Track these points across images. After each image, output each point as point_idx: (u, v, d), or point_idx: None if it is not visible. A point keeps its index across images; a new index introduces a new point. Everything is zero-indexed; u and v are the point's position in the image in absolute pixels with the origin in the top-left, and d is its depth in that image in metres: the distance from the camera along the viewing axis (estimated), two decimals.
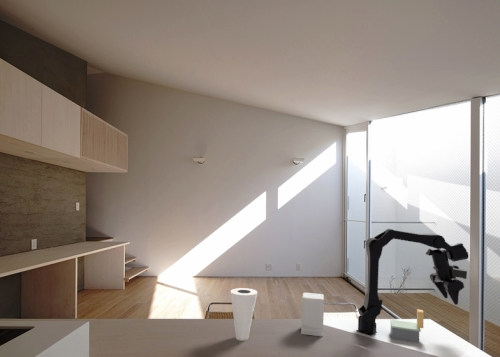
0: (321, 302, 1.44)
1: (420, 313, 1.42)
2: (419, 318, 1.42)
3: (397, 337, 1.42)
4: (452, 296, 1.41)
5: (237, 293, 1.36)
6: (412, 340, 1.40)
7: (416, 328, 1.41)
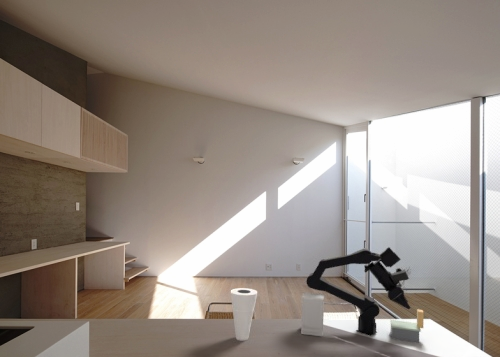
0: (321, 302, 1.44)
1: (420, 313, 1.42)
2: (419, 318, 1.42)
3: (397, 337, 1.42)
4: (400, 303, 1.41)
5: (237, 293, 1.36)
6: (412, 340, 1.40)
7: (416, 328, 1.41)
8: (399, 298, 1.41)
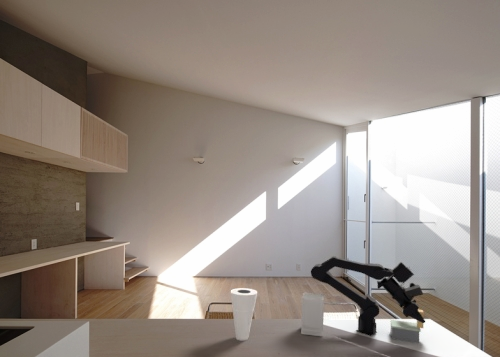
0: (321, 302, 1.44)
1: (420, 313, 1.42)
2: None
3: (397, 337, 1.42)
4: (415, 317, 1.41)
5: (237, 293, 1.36)
6: (412, 340, 1.40)
7: (416, 328, 1.41)
8: (413, 312, 1.41)
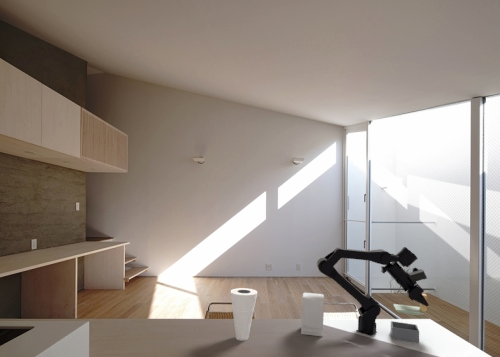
0: (321, 302, 1.44)
1: (424, 297, 1.45)
2: None
3: (397, 337, 1.42)
4: (419, 300, 1.44)
5: (237, 293, 1.36)
6: (412, 340, 1.40)
7: (420, 311, 1.44)
8: (417, 296, 1.44)
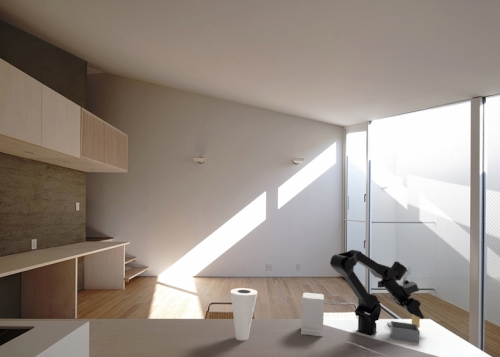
0: (321, 302, 1.44)
1: None
2: (416, 318, 1.54)
3: (397, 337, 1.42)
4: (416, 314, 1.50)
5: (237, 293, 1.36)
6: (412, 340, 1.40)
7: None
8: (415, 310, 1.50)
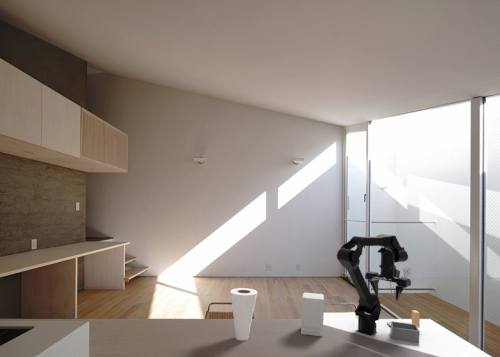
0: (321, 302, 1.44)
1: (416, 314, 1.54)
2: (416, 318, 1.54)
3: (397, 337, 1.42)
4: (399, 293, 1.51)
5: (237, 293, 1.36)
6: (412, 340, 1.40)
7: None
8: (399, 289, 1.52)
